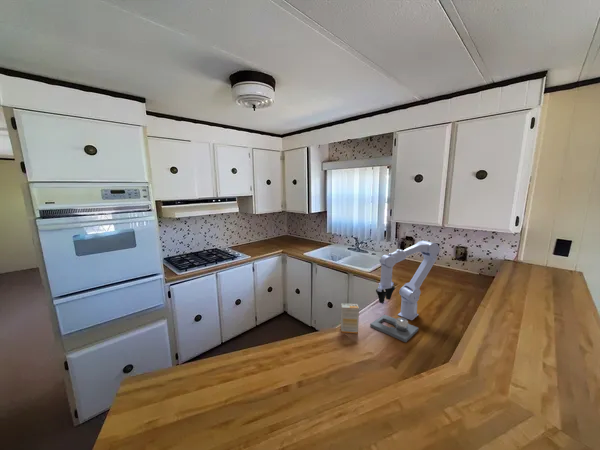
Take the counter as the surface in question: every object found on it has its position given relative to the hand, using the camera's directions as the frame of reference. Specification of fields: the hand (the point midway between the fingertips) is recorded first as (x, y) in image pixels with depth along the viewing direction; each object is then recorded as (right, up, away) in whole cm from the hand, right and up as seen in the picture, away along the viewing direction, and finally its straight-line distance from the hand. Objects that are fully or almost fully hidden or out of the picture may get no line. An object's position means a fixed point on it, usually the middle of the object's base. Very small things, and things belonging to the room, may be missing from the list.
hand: (384, 301), depth 128 cm
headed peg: (+3, -11, -13) cm, 17 cm away
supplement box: (-23, -11, -13) cm, 28 cm away
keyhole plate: (+1, -11, -10) cm, 15 cm away
